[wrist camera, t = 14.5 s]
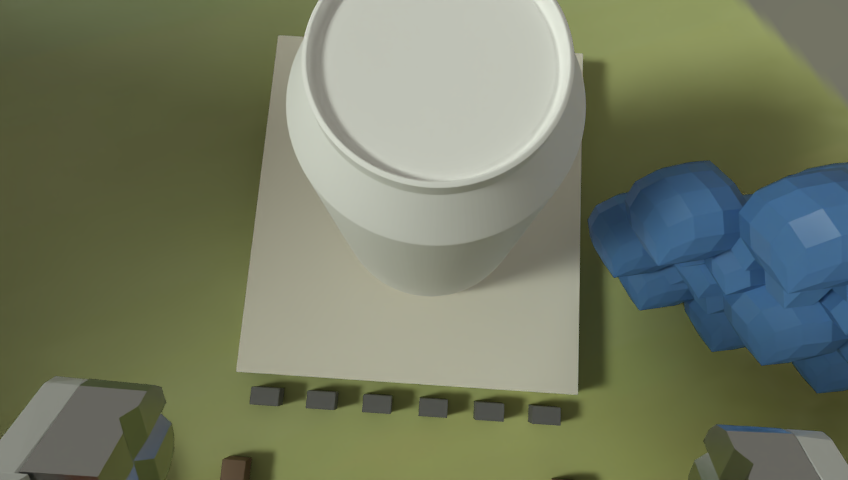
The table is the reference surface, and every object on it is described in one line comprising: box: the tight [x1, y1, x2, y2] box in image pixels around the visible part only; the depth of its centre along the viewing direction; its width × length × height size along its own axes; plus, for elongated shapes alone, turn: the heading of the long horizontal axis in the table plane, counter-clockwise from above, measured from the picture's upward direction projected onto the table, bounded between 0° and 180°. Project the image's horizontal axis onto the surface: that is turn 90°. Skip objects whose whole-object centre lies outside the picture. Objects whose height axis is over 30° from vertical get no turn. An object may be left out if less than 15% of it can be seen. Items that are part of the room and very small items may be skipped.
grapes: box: [588, 160, 848, 393], centre depth 17 cm, size 12×7×12 cm, turn 61°
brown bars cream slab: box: [220, 35, 583, 480], centre depth 22 cm, size 12×31×1 cm, turn 176°
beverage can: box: [286, 0, 586, 296], centre depth 17 cm, size 6×6×12 cm
